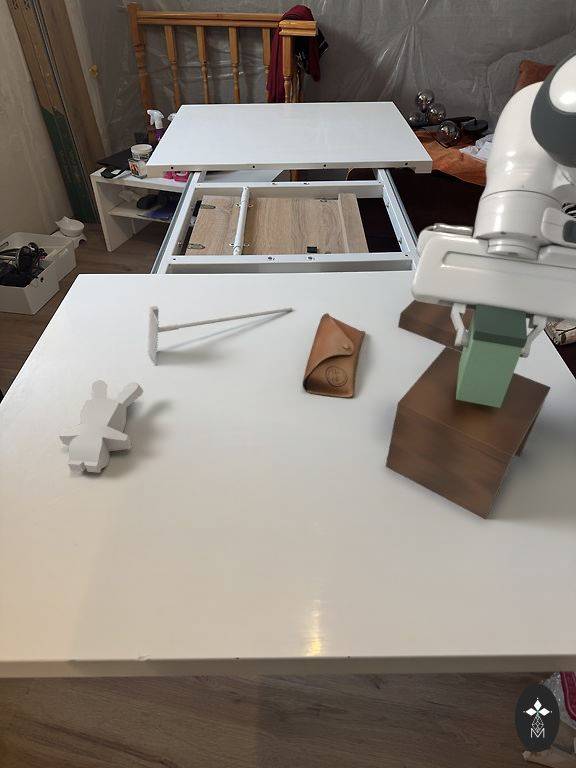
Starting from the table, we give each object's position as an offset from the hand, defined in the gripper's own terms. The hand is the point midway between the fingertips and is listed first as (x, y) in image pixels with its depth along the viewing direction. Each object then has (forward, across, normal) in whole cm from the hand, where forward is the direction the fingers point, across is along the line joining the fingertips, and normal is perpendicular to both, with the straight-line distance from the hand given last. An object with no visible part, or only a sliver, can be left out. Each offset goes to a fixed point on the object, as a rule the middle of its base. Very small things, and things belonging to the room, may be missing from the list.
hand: (490, 351), depth 60 cm
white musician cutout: (+20, -48, +7) cm, 53 cm away
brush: (+1, -42, +26) cm, 49 cm away
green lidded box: (+4, 0, +4) cm, 6 cm away
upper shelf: (+13, 0, +14) cm, 19 cm away
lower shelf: (-10, -3, +37) cm, 39 cm away
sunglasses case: (+2, -20, +26) cm, 33 cm away
